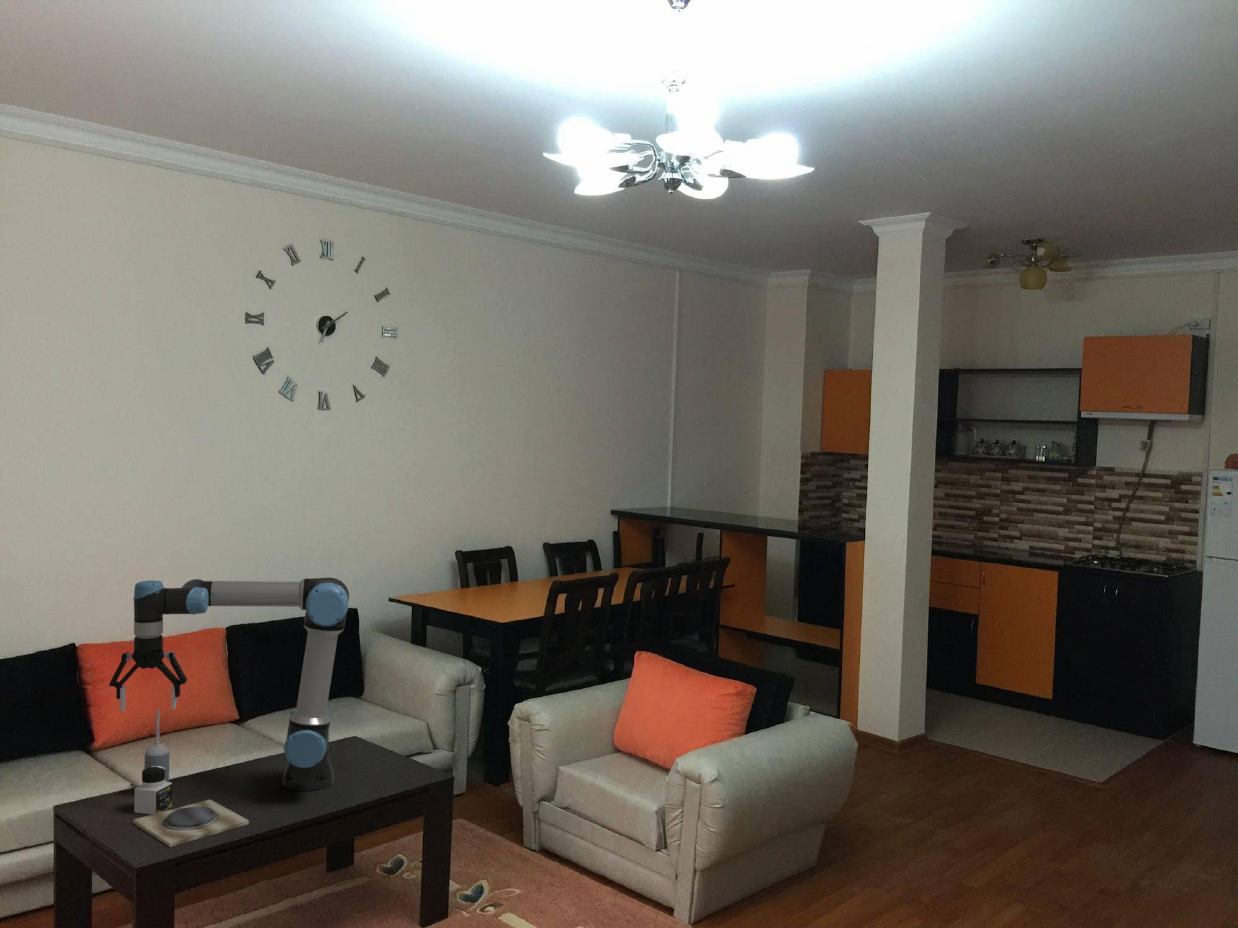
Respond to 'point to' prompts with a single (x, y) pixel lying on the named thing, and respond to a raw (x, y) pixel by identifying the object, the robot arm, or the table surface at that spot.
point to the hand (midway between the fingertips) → (148, 709)
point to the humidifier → (158, 753)
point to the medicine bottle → (153, 792)
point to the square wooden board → (190, 822)
